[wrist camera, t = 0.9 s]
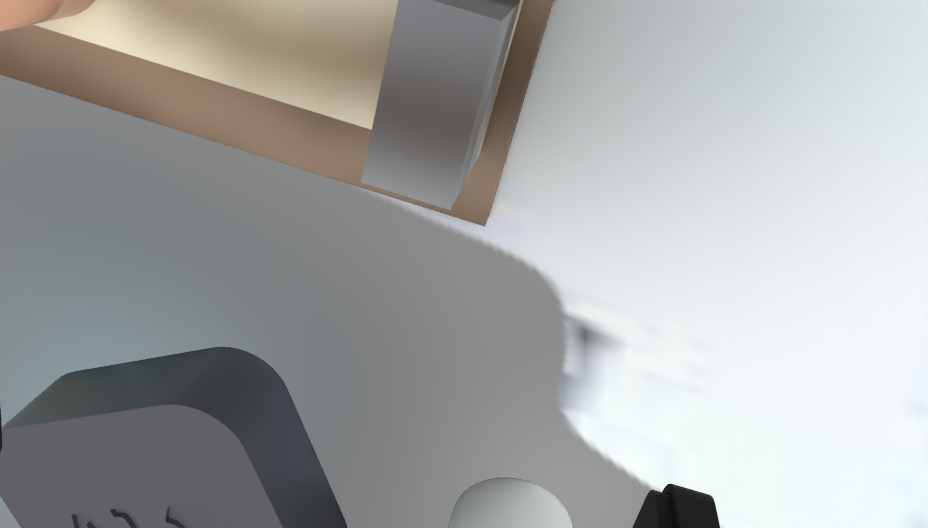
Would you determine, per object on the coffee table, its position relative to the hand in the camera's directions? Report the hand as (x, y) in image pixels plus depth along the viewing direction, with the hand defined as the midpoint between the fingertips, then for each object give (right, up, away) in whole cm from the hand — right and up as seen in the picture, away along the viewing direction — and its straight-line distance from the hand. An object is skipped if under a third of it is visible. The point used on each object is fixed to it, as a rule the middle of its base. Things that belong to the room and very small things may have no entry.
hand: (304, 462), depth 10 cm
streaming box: (-12, -8, +31) cm, 35 cm away
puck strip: (-7, +13, +18) cm, 23 cm away
